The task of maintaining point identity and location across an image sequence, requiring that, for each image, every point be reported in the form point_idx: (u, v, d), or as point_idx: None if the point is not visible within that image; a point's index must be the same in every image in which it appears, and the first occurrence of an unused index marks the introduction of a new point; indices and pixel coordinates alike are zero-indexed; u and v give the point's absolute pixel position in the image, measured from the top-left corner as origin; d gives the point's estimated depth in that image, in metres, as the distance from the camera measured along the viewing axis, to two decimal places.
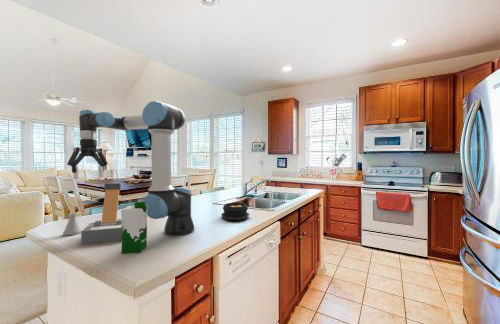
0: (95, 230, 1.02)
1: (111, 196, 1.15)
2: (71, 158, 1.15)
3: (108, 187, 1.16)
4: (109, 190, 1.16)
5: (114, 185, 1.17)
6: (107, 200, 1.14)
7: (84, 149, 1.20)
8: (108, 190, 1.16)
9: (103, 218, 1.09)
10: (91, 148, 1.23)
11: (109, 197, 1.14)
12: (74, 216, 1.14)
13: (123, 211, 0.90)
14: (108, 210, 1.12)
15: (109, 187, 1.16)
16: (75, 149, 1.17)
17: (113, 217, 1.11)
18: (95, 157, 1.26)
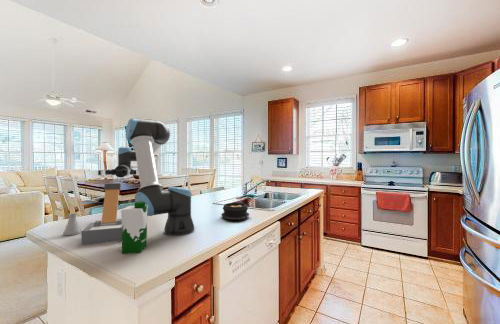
0: (95, 230, 1.02)
1: (111, 196, 1.15)
2: None
3: (108, 187, 1.16)
4: (109, 190, 1.16)
5: (114, 185, 1.17)
6: (107, 200, 1.14)
7: None
8: (108, 190, 1.16)
9: (103, 218, 1.09)
10: None
11: (109, 197, 1.14)
12: (74, 216, 1.14)
13: (123, 211, 0.90)
14: (108, 210, 1.12)
15: (109, 187, 1.16)
16: None
17: (113, 217, 1.11)
18: (125, 171, 1.36)
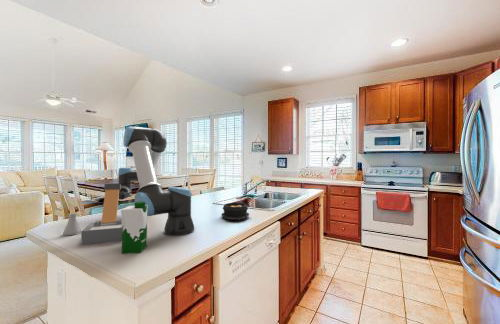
0: (95, 230, 1.02)
1: (111, 196, 1.15)
2: None
3: (108, 187, 1.16)
4: (109, 190, 1.16)
5: (114, 185, 1.17)
6: (107, 200, 1.14)
7: None
8: (108, 190, 1.16)
9: (103, 218, 1.09)
10: None
11: (109, 197, 1.14)
12: (74, 216, 1.14)
13: (123, 211, 0.90)
14: (108, 210, 1.12)
15: (109, 187, 1.16)
16: None
17: (113, 217, 1.11)
18: None
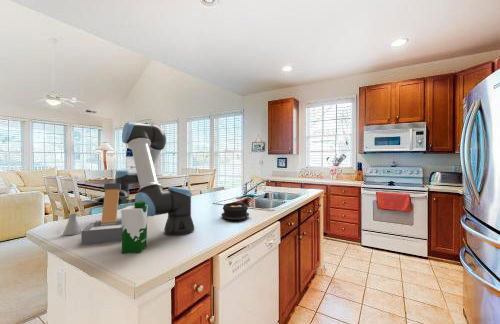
0: (95, 230, 1.02)
1: (111, 196, 1.15)
2: None
3: (108, 187, 1.16)
4: (108, 190, 1.16)
5: (114, 185, 1.17)
6: (107, 200, 1.13)
7: None
8: (108, 190, 1.15)
9: (103, 218, 1.09)
10: None
11: (109, 197, 1.14)
12: (74, 216, 1.14)
13: (123, 211, 0.90)
14: (108, 210, 1.12)
15: (109, 187, 1.16)
16: None
17: (113, 217, 1.11)
18: None
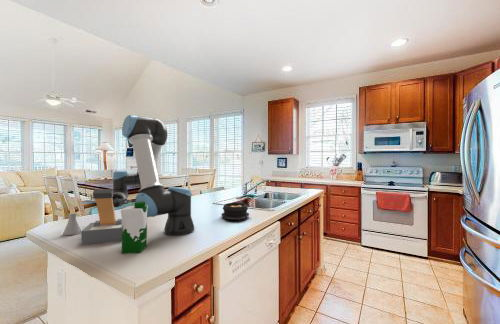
0: (95, 230, 1.02)
1: (104, 204, 1.02)
2: None
3: (98, 197, 0.98)
4: (100, 199, 1.00)
5: (105, 194, 0.99)
6: (101, 207, 1.02)
7: None
8: (99, 199, 1.00)
9: (101, 222, 1.07)
10: (119, 198, 1.25)
11: (102, 205, 1.02)
12: (74, 216, 1.14)
13: (123, 211, 0.90)
14: (105, 215, 1.05)
15: (99, 196, 0.99)
16: None
17: (111, 221, 1.08)
18: None
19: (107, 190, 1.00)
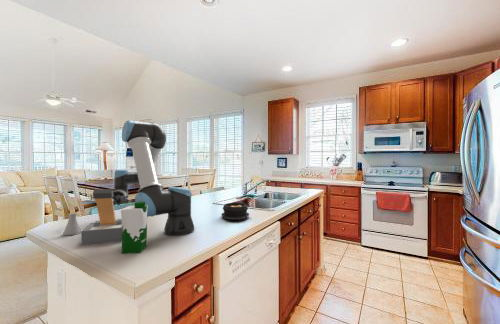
0: (95, 230, 1.02)
1: (104, 204, 1.02)
2: None
3: (98, 197, 0.98)
4: (100, 199, 1.00)
5: (105, 194, 0.99)
6: (101, 207, 1.02)
7: None
8: (99, 199, 1.00)
9: (101, 222, 1.07)
10: (120, 195, 1.33)
11: (102, 205, 1.02)
12: (74, 216, 1.14)
13: (123, 211, 0.90)
14: (105, 215, 1.05)
15: (99, 196, 0.99)
16: None
17: (111, 221, 1.08)
18: None
19: (107, 190, 1.00)
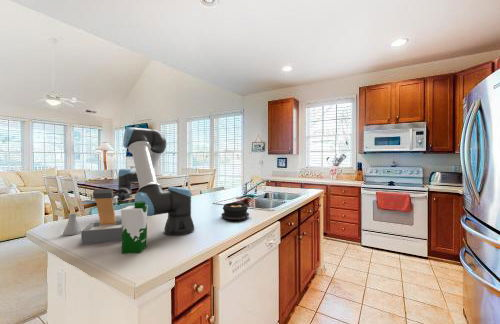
0: (95, 230, 1.02)
1: (104, 204, 1.02)
2: None
3: (98, 197, 0.98)
4: (100, 199, 1.00)
5: (105, 194, 0.99)
6: (101, 207, 1.02)
7: None
8: (99, 199, 1.00)
9: (101, 222, 1.07)
10: (124, 193, 1.41)
11: (102, 205, 1.02)
12: (74, 216, 1.14)
13: (123, 211, 0.90)
14: (105, 215, 1.05)
15: (99, 196, 0.99)
16: None
17: (111, 221, 1.08)
18: None
19: (107, 190, 1.00)
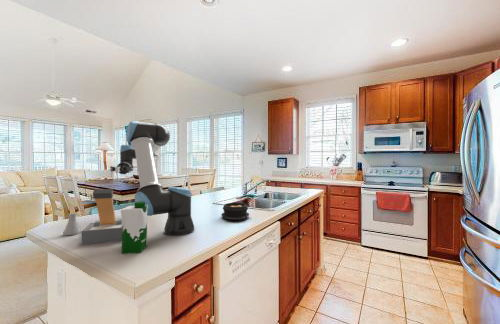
0: (95, 230, 1.02)
1: (104, 204, 1.02)
2: None
3: (98, 197, 0.98)
4: (100, 199, 1.00)
5: (105, 194, 0.99)
6: (101, 207, 1.02)
7: (117, 166, 1.41)
8: (99, 199, 1.00)
9: (101, 222, 1.07)
10: (126, 166, 1.45)
11: (102, 205, 1.02)
12: (74, 216, 1.14)
13: (123, 211, 0.90)
14: (105, 215, 1.05)
15: (99, 196, 0.99)
16: (110, 168, 1.38)
17: (111, 221, 1.08)
18: None
19: (107, 190, 1.00)
